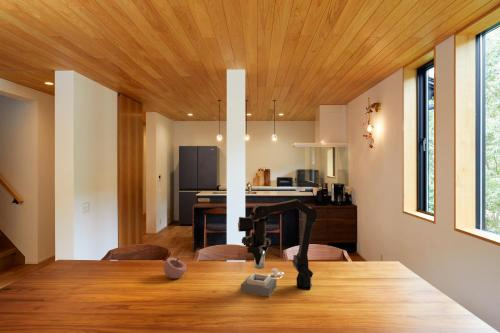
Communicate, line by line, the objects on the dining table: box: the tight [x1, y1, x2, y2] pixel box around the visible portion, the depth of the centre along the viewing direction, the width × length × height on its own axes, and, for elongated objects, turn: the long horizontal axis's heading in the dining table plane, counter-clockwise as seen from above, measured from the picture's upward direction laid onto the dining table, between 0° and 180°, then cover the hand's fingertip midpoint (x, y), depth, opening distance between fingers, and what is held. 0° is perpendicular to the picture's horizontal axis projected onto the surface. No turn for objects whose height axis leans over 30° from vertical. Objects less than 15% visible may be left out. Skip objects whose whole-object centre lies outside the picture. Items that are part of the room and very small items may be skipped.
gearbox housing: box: [240, 272, 277, 298], centre depth 149 cm, size 14×12×6 cm
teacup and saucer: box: [268, 268, 285, 280], centre depth 167 cm, size 9×8×4 cm
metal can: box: [253, 250, 266, 270], centre depth 149 cm, size 5×5×8 cm
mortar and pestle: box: [163, 256, 187, 279], centre depth 165 cm, size 12×12×12 cm
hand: (259, 263), depth 149 cm, fingers closed on metal can, 5 cm apart
